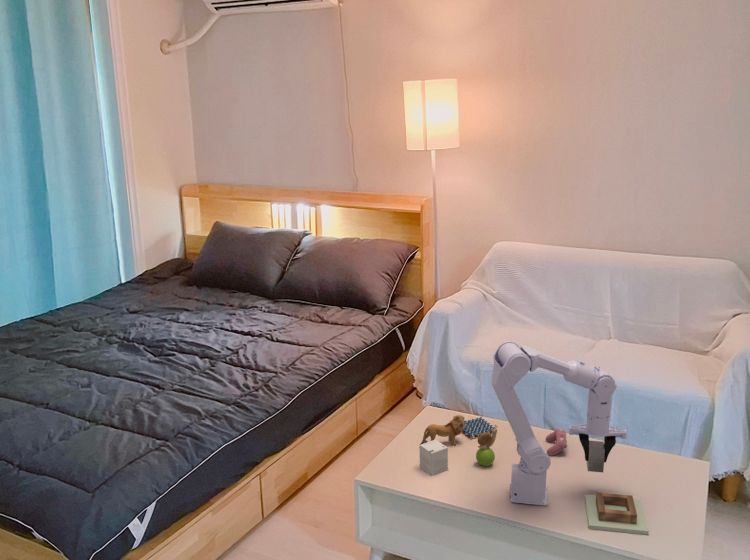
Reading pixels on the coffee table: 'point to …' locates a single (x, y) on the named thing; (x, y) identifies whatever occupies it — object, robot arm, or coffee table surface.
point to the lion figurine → (445, 430)
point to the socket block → (615, 513)
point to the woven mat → (476, 428)
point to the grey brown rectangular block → (596, 456)
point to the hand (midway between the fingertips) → (595, 459)
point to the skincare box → (433, 457)
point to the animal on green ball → (486, 448)
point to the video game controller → (557, 441)
